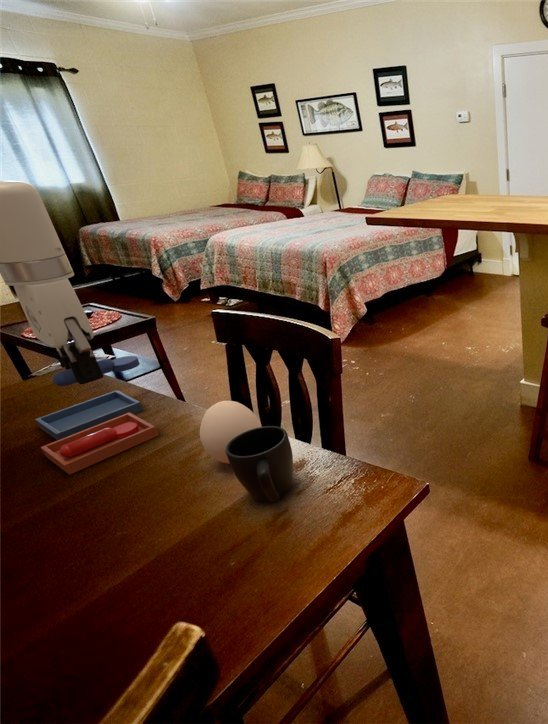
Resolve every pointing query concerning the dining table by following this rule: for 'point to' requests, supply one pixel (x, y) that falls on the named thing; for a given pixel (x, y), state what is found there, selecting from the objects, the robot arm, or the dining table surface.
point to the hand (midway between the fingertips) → (87, 377)
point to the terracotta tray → (102, 450)
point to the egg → (225, 427)
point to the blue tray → (88, 414)
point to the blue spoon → (105, 365)
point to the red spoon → (98, 439)
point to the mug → (262, 462)
